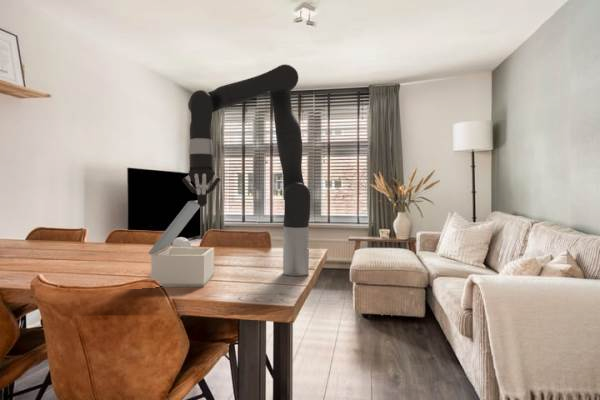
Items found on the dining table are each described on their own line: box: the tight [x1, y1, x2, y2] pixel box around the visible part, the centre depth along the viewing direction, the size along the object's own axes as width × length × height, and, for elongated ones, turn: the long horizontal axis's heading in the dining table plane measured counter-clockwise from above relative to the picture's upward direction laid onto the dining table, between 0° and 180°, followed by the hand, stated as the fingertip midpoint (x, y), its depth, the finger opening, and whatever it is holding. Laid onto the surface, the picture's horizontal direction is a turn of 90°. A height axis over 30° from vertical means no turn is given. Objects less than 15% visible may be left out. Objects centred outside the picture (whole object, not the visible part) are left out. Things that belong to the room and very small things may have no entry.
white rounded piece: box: [171, 236, 192, 248], centre depth 134 cm, size 10×4×12 cm, turn 39°
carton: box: [150, 247, 215, 288], centre depth 118 cm, size 16×16×10 cm
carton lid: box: [148, 200, 201, 255], centre depth 117 cm, size 20×17×1 cm
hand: (202, 206), depth 118 cm, fingers closed
